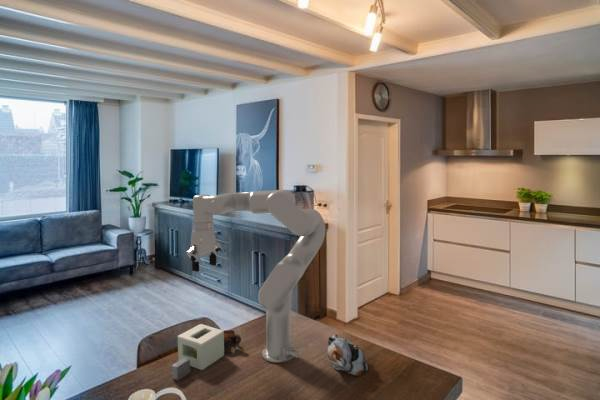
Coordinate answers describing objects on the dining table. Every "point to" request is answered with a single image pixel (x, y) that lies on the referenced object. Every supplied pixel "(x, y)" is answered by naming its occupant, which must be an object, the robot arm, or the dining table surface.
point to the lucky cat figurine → (346, 356)
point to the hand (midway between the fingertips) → (204, 267)
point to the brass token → (194, 353)
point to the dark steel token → (180, 369)
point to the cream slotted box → (201, 345)
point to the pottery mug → (230, 340)
